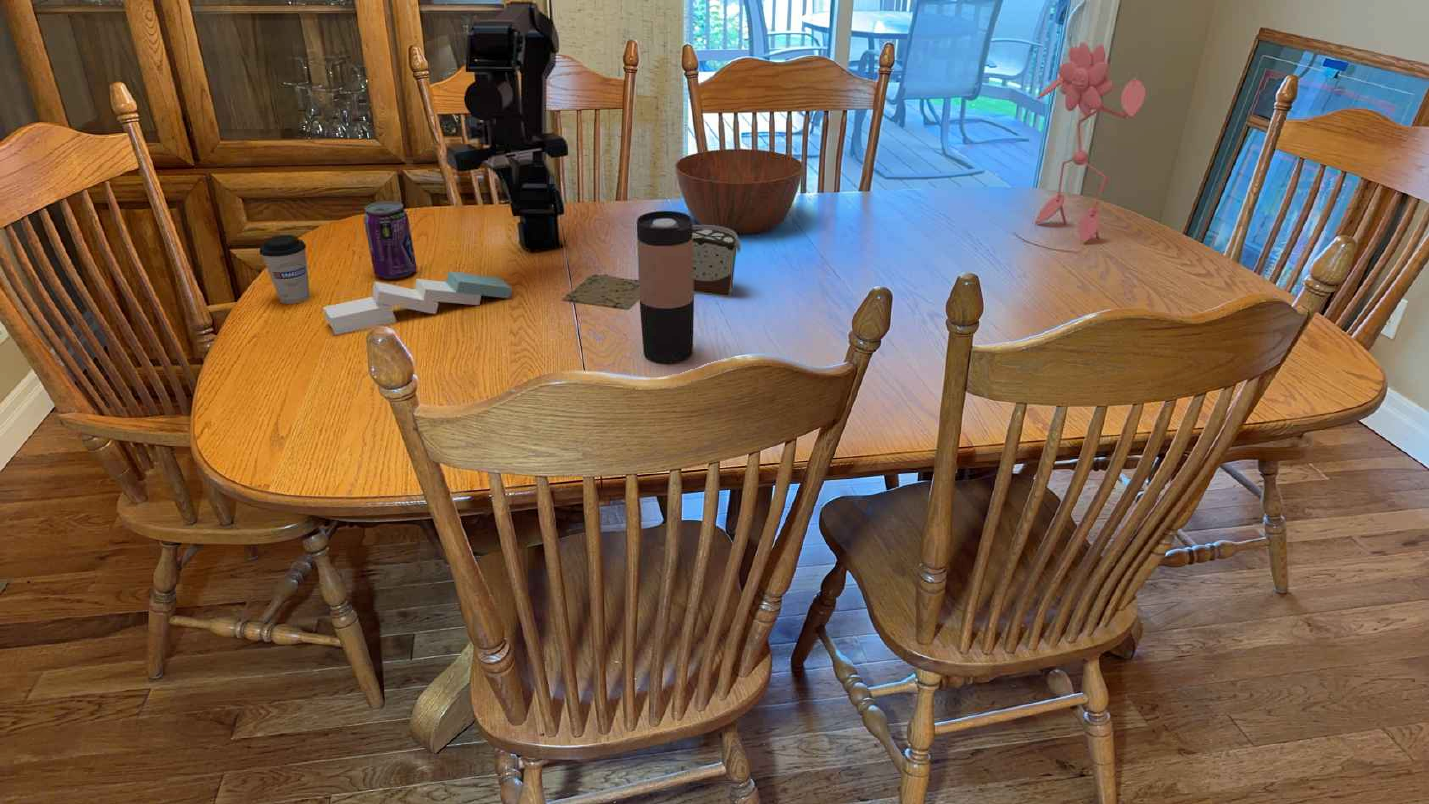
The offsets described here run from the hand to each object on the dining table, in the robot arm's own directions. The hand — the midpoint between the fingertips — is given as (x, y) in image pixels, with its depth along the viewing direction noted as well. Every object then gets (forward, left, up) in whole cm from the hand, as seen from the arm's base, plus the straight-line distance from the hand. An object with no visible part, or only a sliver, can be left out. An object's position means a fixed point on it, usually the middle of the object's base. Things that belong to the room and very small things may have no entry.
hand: (513, 203), depth 152 cm
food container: (-25, +21, -13) cm, 35 cm away
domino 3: (+17, +5, -12) cm, 22 cm away
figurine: (-95, +34, -13) cm, 102 cm away
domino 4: (+10, +5, -12) cm, 17 cm away
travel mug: (-7, +39, -13) cm, 42 cm away
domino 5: (+5, +5, -12) cm, 14 cm away
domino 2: (+23, +5, -13) cm, 27 cm away
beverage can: (+18, -13, -13) cm, 26 cm away
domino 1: (+24, +5, -11) cm, 27 cm away
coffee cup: (+35, -11, -13) cm, 39 cm away
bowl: (-48, -5, -13) cm, 50 cm away
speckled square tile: (-10, +14, -14) cm, 22 cm away
